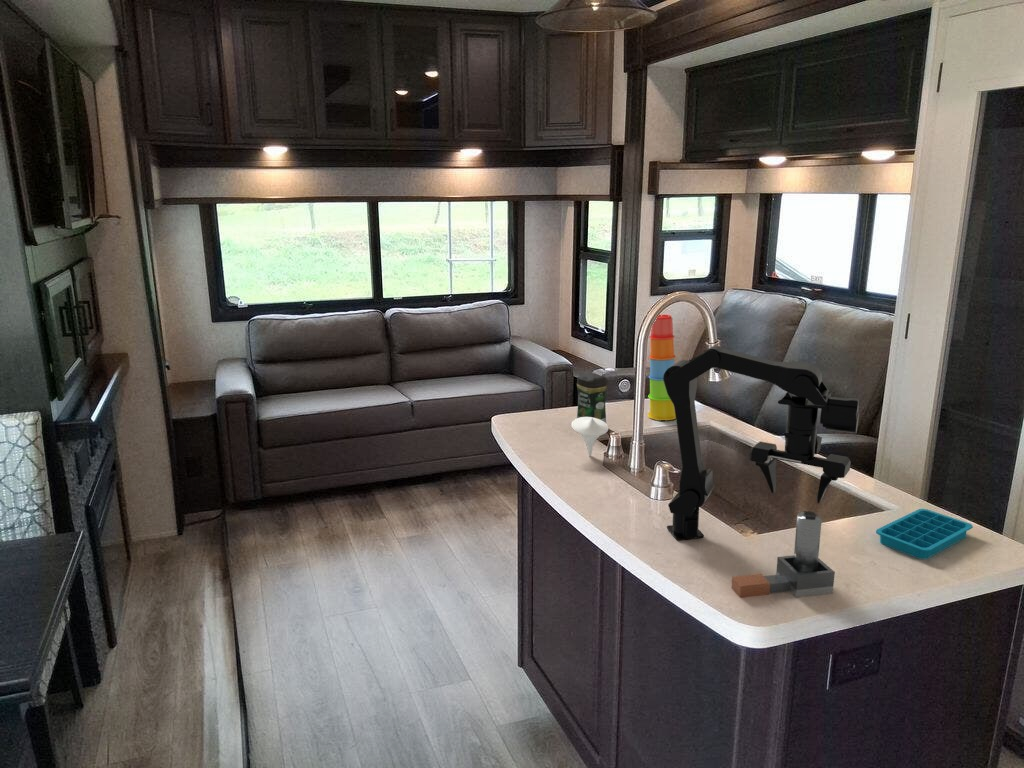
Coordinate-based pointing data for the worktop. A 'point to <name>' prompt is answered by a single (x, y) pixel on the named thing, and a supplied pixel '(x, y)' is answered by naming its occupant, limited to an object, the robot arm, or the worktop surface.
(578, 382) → the coffee jar
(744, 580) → the saucepan
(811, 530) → the cylinder with cube top
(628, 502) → the worktop surface
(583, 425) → the white spinning top
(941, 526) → the ice cube tray
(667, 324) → the stacking cups
